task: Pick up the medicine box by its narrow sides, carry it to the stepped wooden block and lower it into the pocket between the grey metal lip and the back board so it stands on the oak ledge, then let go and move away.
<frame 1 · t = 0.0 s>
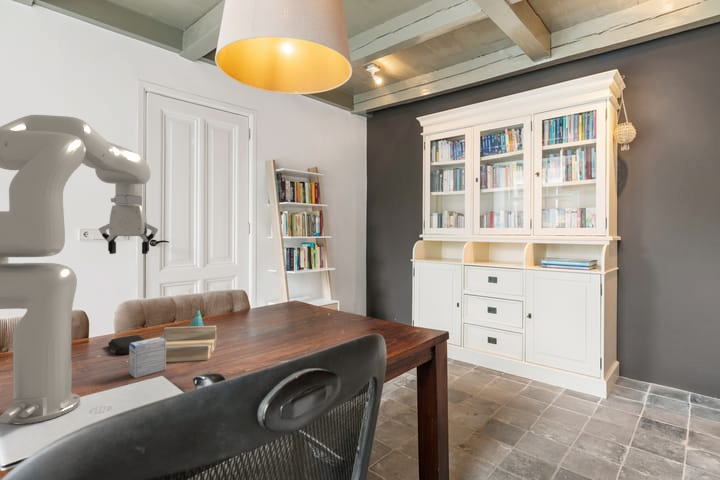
hand: (128, 253, 124), 31 cm above the table, tool pointing down, fingers open, 9 cm apart
medicine box: (148, 373, 103), on the table
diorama: (185, 335, 142), on the table
stepped wooden block: (185, 353, 119), on the table
carrying case or bag: (127, 350, 124), on the table
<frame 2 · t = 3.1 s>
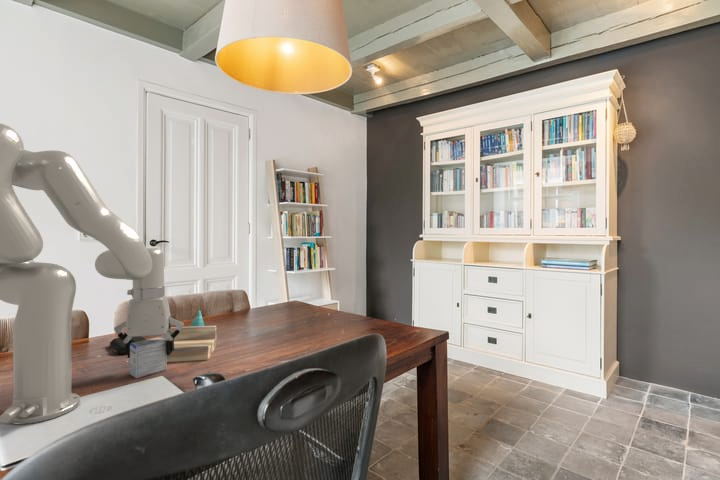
hand: (150, 354, 103), 5 cm above the table, tool pointing down, fingers open, 9 cm apart
medicine box: (148, 373, 103), on the table, touching gripper
everything else where it was.
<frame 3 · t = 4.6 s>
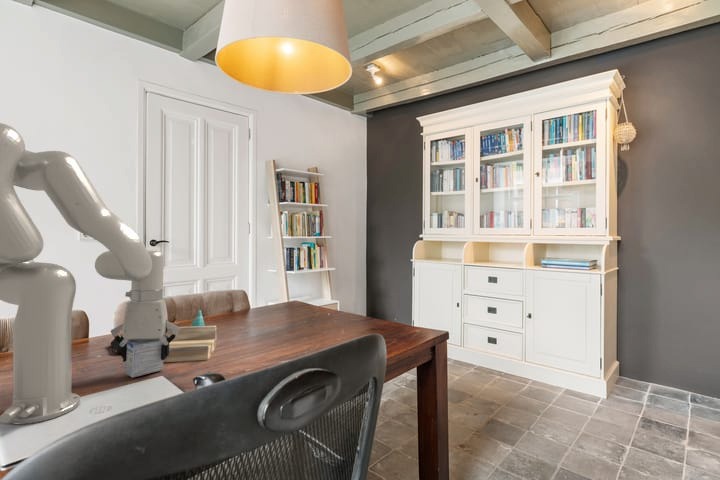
hand: (145, 359, 102), 4 cm above the table, tool pointing down, fingers closed on medicine box, 8 cm apart
medicine box: (144, 373, 102), on the table, touching gripper
everything else where it was.
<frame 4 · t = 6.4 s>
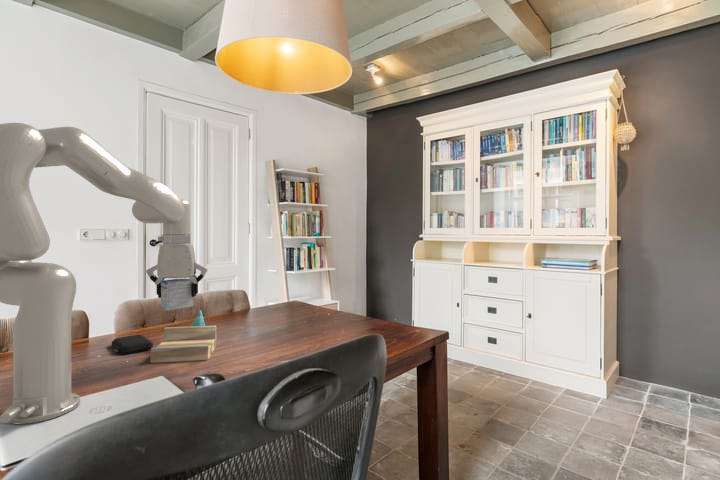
hand: (177, 296, 114), 19 cm above the table, tool pointing down, fingers closed on medicine box, 8 cm apart
medicine box: (177, 308, 114), point 15 cm above the table, touching gripper
everything else where it was.
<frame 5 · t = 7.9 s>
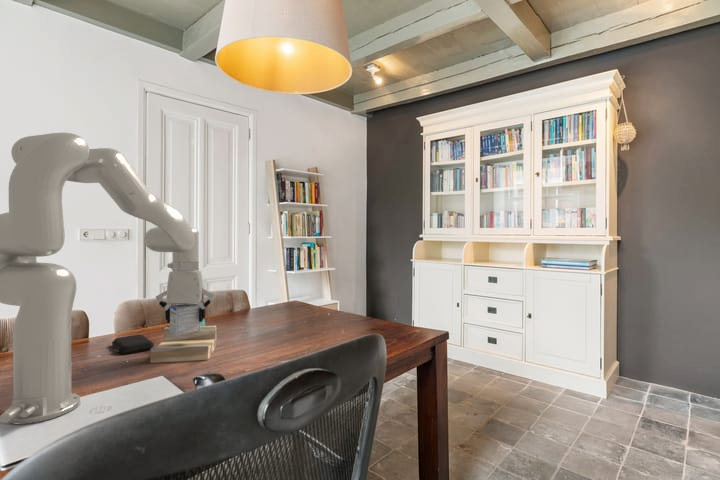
hand: (185, 321, 118), 10 cm above the table, tool pointing down, fingers closed on medicine box, 8 cm apart
medicine box: (185, 333, 118), point 7 cm above the table, touching gripper
everything else where it was.
when the fingers open (8 cm above the table, at t = 9.1 s): medicine box drops 1 cm, resting on stepped wooden block.
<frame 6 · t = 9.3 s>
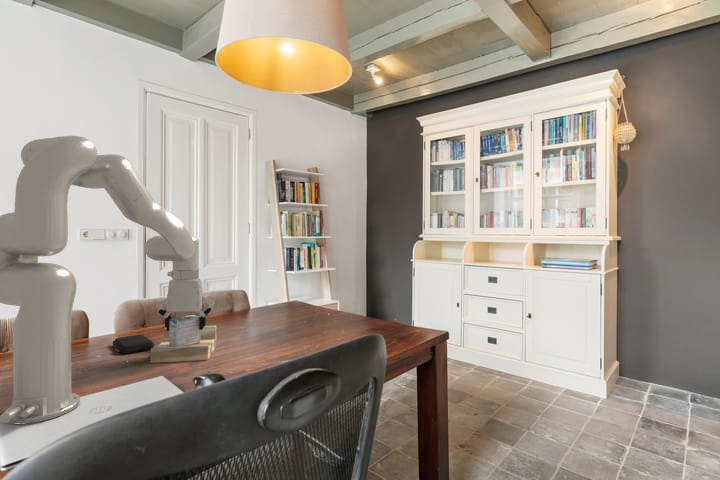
hand: (185, 329, 119), 8 cm above the table, tool pointing down, fingers open, 9 cm apart
medicine box: (185, 345, 118), point 3 cm above the table, touching stepped wooden block
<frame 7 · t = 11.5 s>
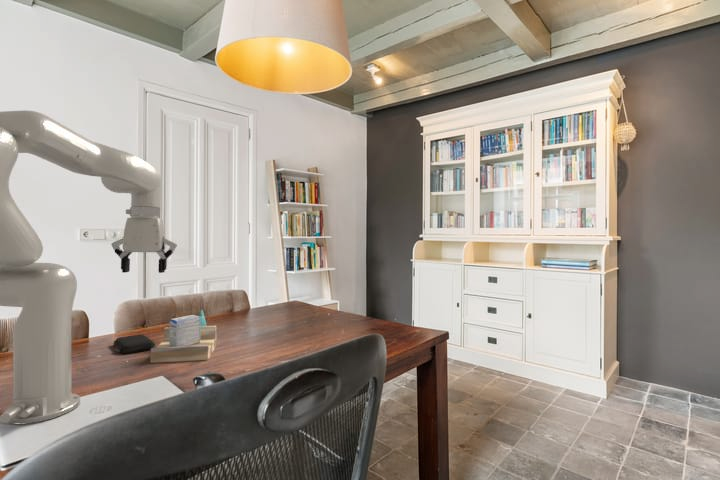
hand: (143, 272, 109), 27 cm above the table, tool pointing down, fingers open, 9 cm apart
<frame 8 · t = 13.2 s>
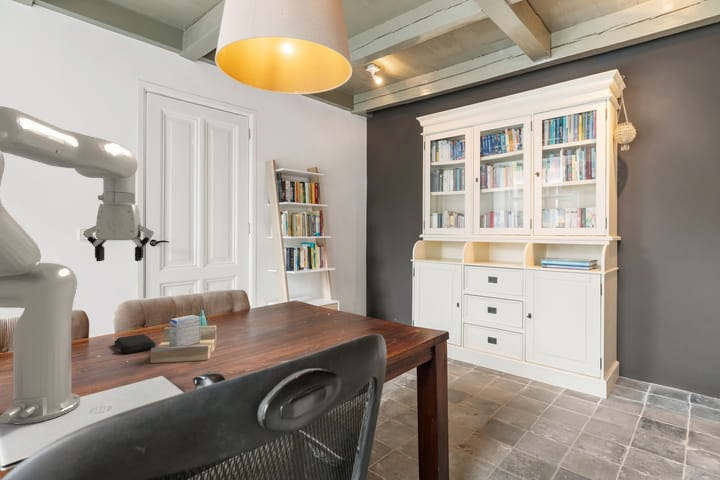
hand: (119, 260, 105), 30 cm above the table, tool pointing down, fingers open, 9 cm apart
at the end: medicine box inside the target area on the stepped wooden block (0.6 cm from its centre), point 2.8 cm above the stepped wooden block's base; medicine box tilted 0°; the gripper is holding nothing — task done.
